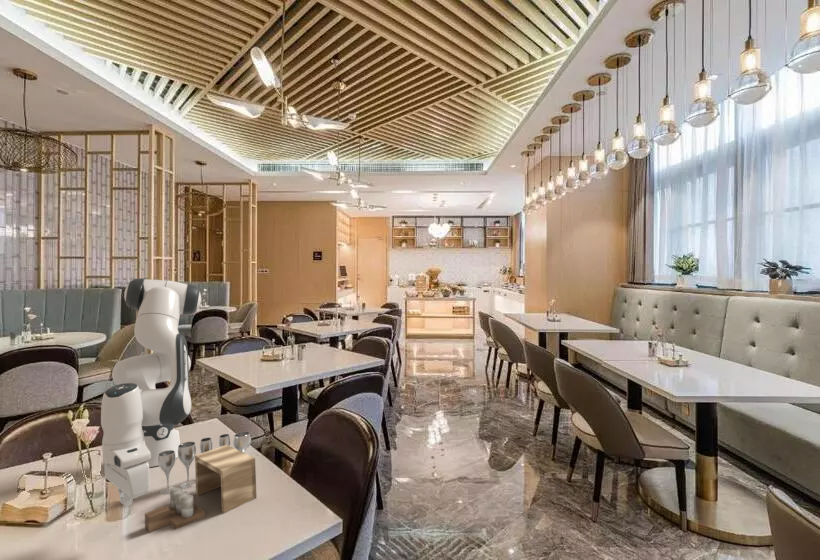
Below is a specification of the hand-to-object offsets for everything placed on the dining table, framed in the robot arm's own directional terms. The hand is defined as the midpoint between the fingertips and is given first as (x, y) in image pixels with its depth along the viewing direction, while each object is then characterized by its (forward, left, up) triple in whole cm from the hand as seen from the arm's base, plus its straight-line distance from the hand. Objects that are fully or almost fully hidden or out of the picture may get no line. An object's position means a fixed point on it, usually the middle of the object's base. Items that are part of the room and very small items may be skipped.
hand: (126, 504), depth 109 cm
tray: (-1, +11, -9) cm, 14 cm away
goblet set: (-16, +28, -10) cm, 34 cm away
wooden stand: (-1, +26, -9) cm, 28 cm away
